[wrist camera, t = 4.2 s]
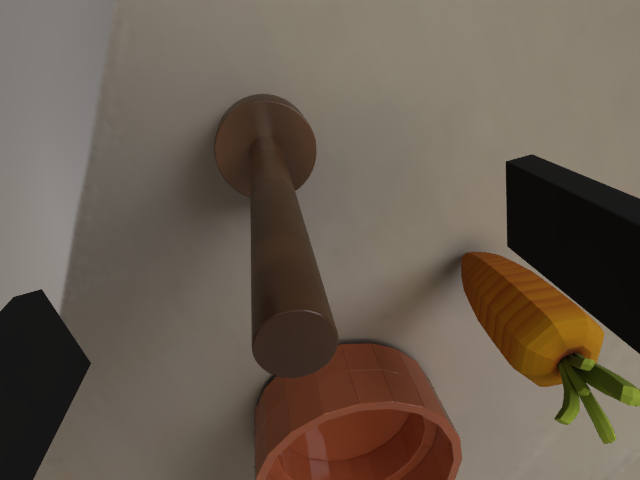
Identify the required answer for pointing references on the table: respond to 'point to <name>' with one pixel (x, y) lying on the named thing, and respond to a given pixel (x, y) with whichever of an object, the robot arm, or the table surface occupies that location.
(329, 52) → the table surface
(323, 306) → the dark brown rod
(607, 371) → the carrot
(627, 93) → the table surface
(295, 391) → the bowl
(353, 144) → the table surface
